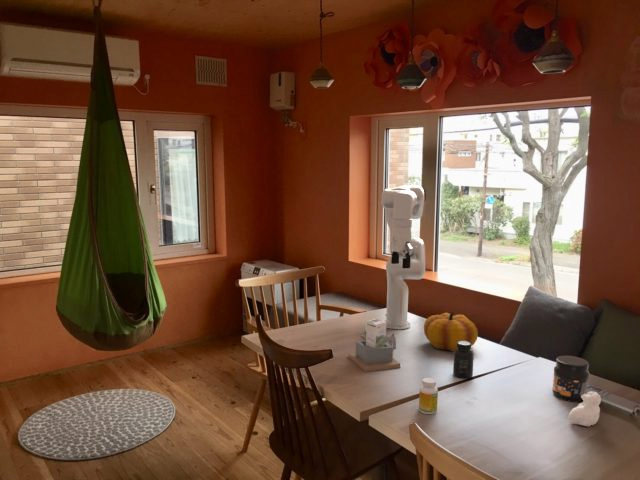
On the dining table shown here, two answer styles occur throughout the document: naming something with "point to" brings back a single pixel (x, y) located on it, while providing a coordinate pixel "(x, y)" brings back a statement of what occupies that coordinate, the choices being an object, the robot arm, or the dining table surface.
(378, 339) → the syrup box
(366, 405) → the dining table surface
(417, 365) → the dining table surface
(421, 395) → the supplement bottle
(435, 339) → the decorative pumpkin
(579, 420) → the bust
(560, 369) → the supplement container
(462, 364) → the supplement bottle
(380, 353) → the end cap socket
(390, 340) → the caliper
